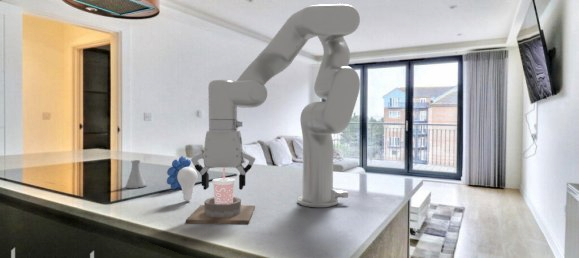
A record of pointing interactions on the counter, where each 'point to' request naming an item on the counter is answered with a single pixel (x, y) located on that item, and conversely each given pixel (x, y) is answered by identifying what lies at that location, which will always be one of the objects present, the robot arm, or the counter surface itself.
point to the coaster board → (221, 212)
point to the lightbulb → (187, 181)
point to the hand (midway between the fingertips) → (223, 188)
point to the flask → (135, 176)
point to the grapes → (176, 171)
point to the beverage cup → (223, 189)
